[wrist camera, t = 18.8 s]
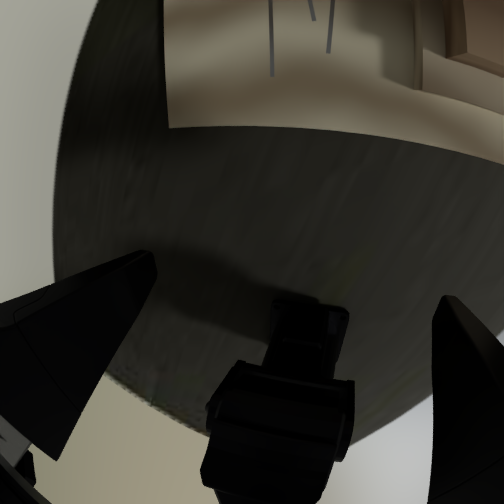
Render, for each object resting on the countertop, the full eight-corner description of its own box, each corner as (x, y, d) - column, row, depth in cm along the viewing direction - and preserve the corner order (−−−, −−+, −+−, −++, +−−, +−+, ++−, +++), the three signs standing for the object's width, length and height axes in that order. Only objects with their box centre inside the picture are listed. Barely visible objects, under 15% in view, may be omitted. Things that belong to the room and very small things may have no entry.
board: (518, 166, 13) (528, 173, 12) (180, 124, 19) (169, 128, 18) (510, -35, 5) (519, -40, 3) (177, -62, 11) (166, -68, 10)
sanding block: (501, 115, 11) (546, 129, 7) (413, 90, 12) (440, 90, 8) (492, -26, 6) (525, -48, 2) (402, -55, 7) (416, -93, 3)
